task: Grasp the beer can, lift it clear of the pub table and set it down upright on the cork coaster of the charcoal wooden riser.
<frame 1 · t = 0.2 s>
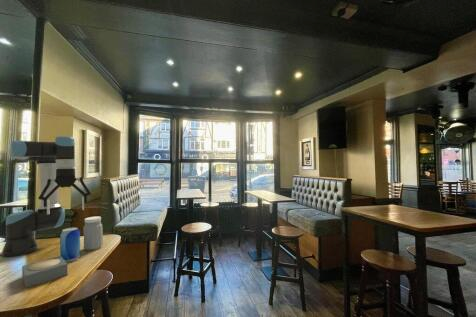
hand: (66, 211, 111), 27 cm above the table, fingers open, 13 cm apart
riser: (45, 276, 103), on the table
jar: (93, 248, 136), on the table
beer can: (70, 259, 121), on the table
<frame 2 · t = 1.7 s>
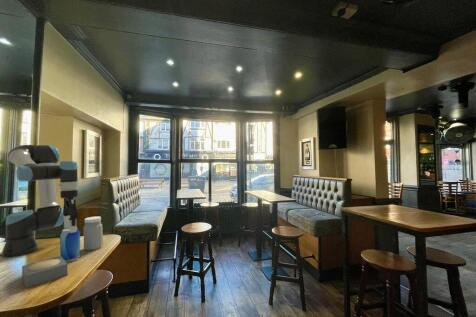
hand: (70, 230, 121), 16 cm above the table, fingers open, 13 cm apart
nothing on the table moved.
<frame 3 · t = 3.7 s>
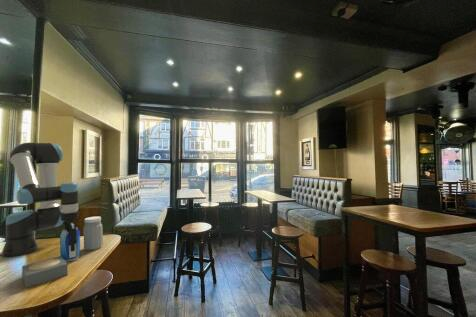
hand: (70, 255, 121), 2 cm above the table, fingers closed on beer can, 8 cm apart
beer can: (70, 259, 121), on the table, touching gripper
everything else where it was.
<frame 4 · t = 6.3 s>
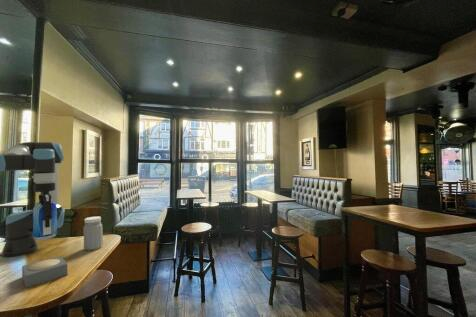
hand: (45, 232, 104), 19 cm above the table, fingers closed on beer can, 8 cm apart
beer can: (45, 238, 104), point 17 cm above the table, touching gripper
everything else where it was.
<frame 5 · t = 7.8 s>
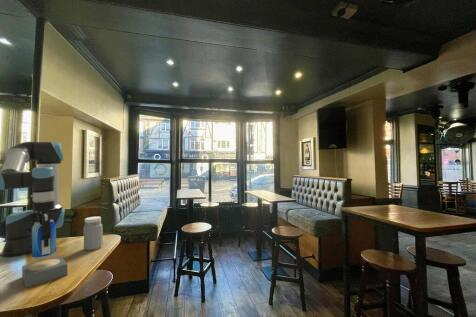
hand: (44, 251, 103), 11 cm above the table, fingers closed on beer can, 8 cm apart
beer can: (44, 256, 103), point 9 cm above the table, touching gripper
everything else where it was.
when the fingers open (9 cm above the table, at t = 9.1 s): beer can drops 1 cm, resting on riser.
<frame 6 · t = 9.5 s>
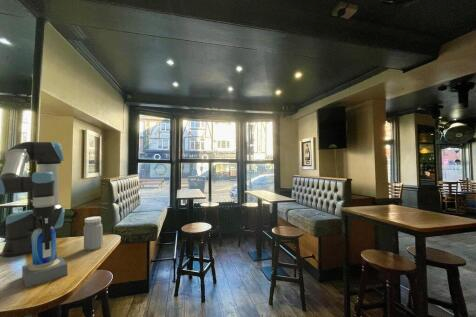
hand: (44, 252, 103), 10 cm above the table, fingers open, 13 cm apart
beer can: (45, 264, 104), point 5 cm above the table, touching riser
everything else where it was.
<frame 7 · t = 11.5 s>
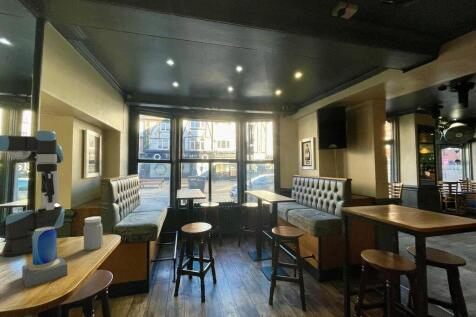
hand: (47, 207, 109), 30 cm above the table, fingers open, 13 cm apart
nothing on the table moved.
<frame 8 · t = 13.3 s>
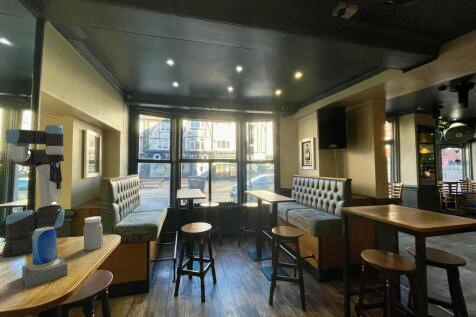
hand: (55, 194, 121), 35 cm above the table, fingers open, 13 cm apart
nothing on the table moved.
at the end: beer can inside the target area on the riser (0.4 cm from its centre), point 5.1 cm above the riser's base; beer can tilted 0°; the gripper is holding nothing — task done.
